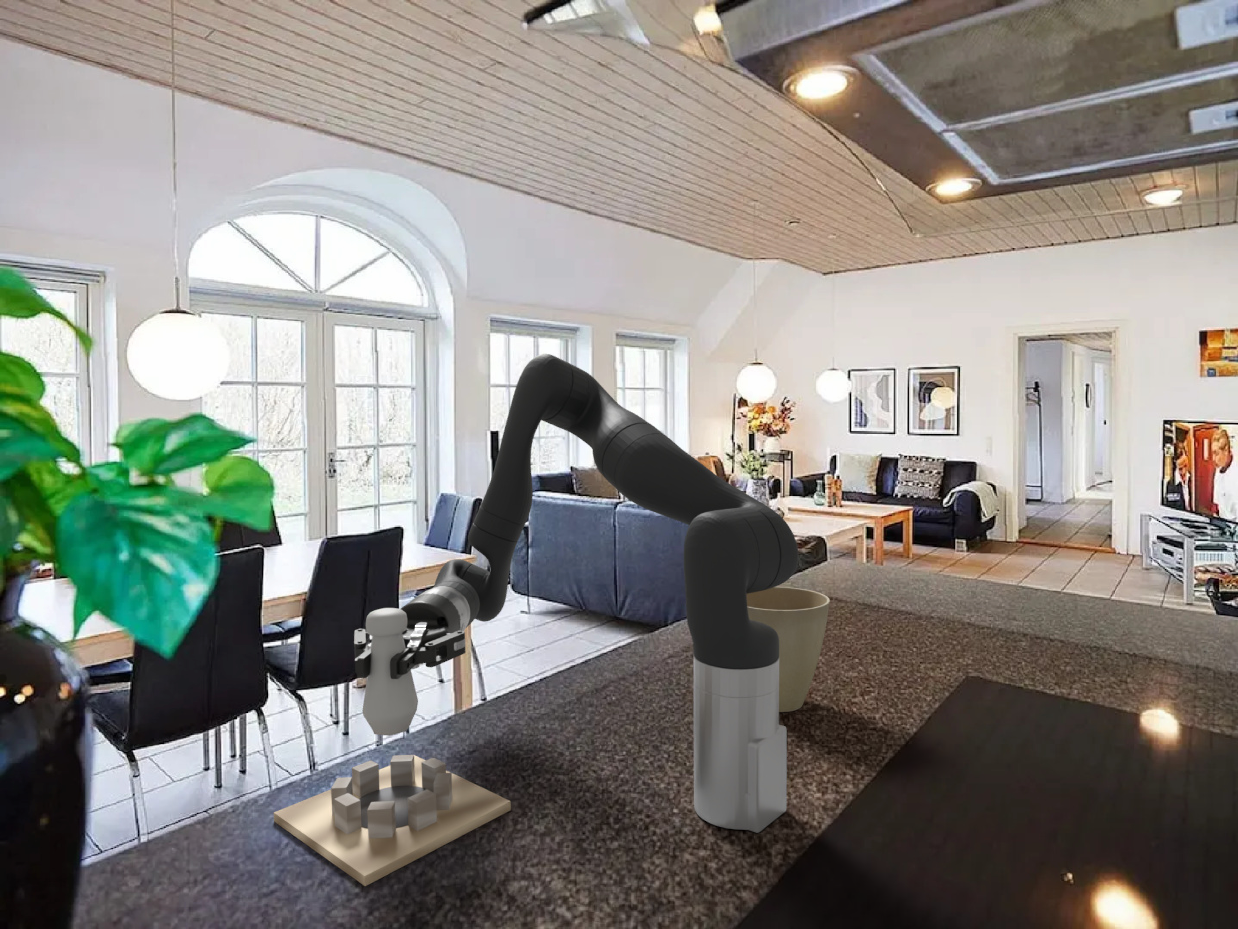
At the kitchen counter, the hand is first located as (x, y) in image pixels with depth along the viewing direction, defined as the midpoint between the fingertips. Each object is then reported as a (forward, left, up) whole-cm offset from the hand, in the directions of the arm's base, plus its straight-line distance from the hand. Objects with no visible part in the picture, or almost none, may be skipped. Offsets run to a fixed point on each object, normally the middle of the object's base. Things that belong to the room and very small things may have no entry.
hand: (377, 669), depth 83 cm
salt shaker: (+2, -2, -8) cm, 8 cm away
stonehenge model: (+2, -2, -17) cm, 18 cm away
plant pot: (-14, -57, -18) cm, 62 cm away
